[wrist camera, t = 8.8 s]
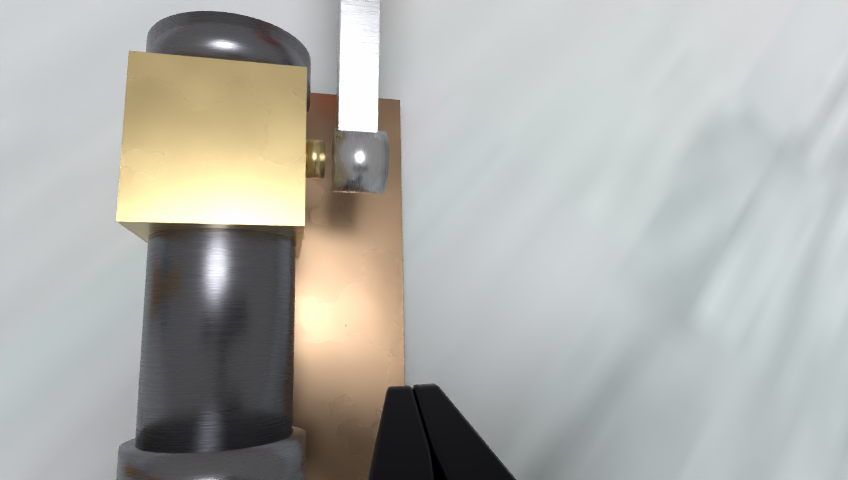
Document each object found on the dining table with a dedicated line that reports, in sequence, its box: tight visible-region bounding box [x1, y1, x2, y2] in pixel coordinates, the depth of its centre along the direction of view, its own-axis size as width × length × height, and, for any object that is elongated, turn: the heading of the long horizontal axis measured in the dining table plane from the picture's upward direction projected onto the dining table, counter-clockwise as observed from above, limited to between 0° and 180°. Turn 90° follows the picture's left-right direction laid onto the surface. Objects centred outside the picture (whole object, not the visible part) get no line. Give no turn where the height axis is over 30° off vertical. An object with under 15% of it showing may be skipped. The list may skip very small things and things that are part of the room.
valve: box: [116, 11, 405, 480], centre depth 19 cm, size 16×9×7 cm, turn 1°
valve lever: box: [331, 0, 389, 194], centre depth 17 cm, size 2×2×12 cm
